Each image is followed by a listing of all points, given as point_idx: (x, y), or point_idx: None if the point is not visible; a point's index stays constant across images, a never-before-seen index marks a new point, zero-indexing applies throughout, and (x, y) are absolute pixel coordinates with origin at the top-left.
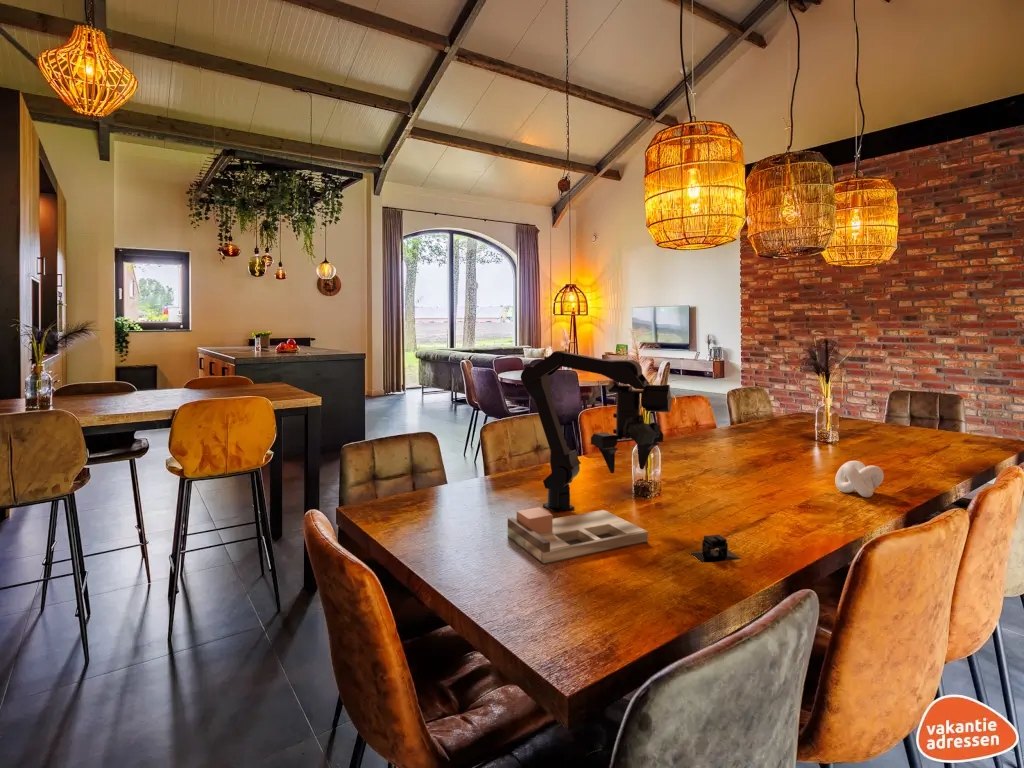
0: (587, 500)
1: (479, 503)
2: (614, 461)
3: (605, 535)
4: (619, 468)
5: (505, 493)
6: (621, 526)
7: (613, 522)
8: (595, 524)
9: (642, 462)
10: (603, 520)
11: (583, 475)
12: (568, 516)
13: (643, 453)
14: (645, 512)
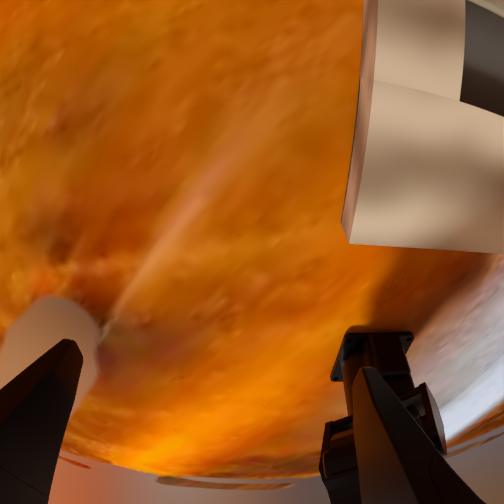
0: (251, 366)
1: (454, 406)
2: (402, 453)
3: (462, 87)
4: (74, 425)
5: None
6: (438, 44)
7: (433, 99)
8: (494, 132)
9: (51, 383)
10: (447, 144)
11: (157, 441)
12: (490, 249)
13: (16, 444)
14: (136, 207)
